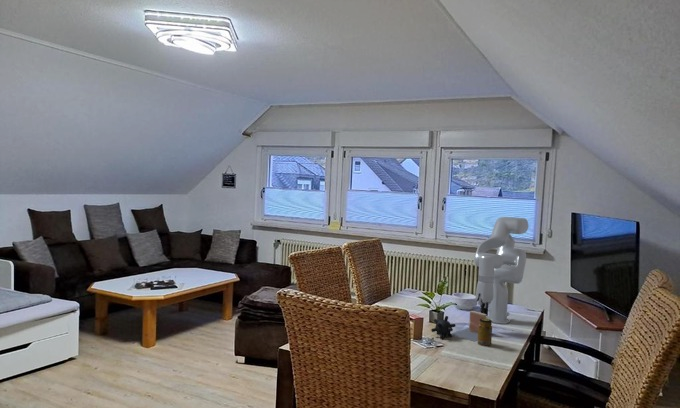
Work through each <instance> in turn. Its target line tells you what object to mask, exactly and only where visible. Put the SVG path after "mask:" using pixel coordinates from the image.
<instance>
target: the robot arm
mask: <svg viewBox="0 0 680 408" xmlns="http://www.w3.org/2000/svg"><path fill="white" fill-rule="evenodd" d="M528 230H529V221H528V220H527V219H526V218H524V217H512V216H511V217H510V216H502V217H498V218H497V219H496V221H495V222H494V224H493V228H492V231H491V235H490V237H488V238H487V239H485V240H484V241H482V242H481V243H480V244H479V245H478V246H477V249H476V251H475V254H474V260H473V261H474V262H473V263H474V264H475V266H477V267H478V277H477V278H478V279H477V280H478V281H477V284H476V289H475V296H476V298H475V300H476V301H477V306H478V305H479V306H480V311H479V313H483V314H486V318H487V319H490V320H491V321H492V324H499V325H505V324H506V325H507V324H510V321H511V320H510V319H509V318H508V316H510V312H508V303H509V302H508V301H509V288H508V286H507V284H506V283H510V284H517V285H519V284H521V283H522V281H523V278H524V272H525V267H526V263H527V254H526V253H527V252H526V251H525V250H524V249H521V248H515V243H516V241H515V239H514V237H513V236H512V235H523V234H526V233H527V232H528ZM511 234H512V235H511ZM495 249H496V253H489V252H488V251H490V250H495Z"/></svg>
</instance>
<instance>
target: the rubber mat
mask: <svg viewBox="0 0 680 408" xmlns="http://www.w3.org/2000/svg"><path fill="white" fill-rule="evenodd" d="M450 333H451V334H452V336H453V337H458V338H461V339H463V340H468V341H470V342H474V343H475V342H478V334H477V333H474V332H471V331H469V327H467V328H464V329H461V330H458V331H454V332H450ZM496 334H497V333H493V332H492V337H493V336H496Z"/></svg>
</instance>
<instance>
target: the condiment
mask: <svg viewBox="0 0 680 408" xmlns="http://www.w3.org/2000/svg"><path fill="white" fill-rule="evenodd" d="M492 333H493V323H492V321H491V320H490V319H487V318H481V319H480V324H479V326H478V341H477V345H479V346H482V347H491V345H492V340H493V339H492V338H493V336H492Z"/></svg>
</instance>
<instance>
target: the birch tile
mask: <svg viewBox="0 0 680 408" xmlns="http://www.w3.org/2000/svg"><path fill="white" fill-rule="evenodd" d="M486 317H487V316H486V314H483V313H480V311H479V312H478V311H473V310H469V319H468V320H469V322H468V323H469V324H468V328H469V331H471V332H474V333H477V334H478V326H479V324H480V319H481V318H486Z"/></svg>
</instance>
